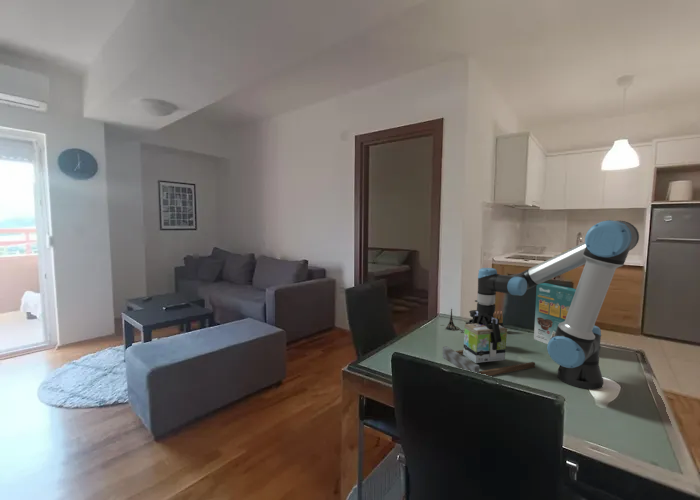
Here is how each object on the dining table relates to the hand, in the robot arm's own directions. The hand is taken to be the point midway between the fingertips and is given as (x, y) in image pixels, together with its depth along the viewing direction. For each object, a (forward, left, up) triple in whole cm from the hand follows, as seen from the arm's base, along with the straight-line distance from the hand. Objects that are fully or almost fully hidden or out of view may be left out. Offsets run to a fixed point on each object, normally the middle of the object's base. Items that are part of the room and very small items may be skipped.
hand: (484, 351), depth 152 cm
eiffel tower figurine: (+44, -14, -6) cm, 47 cm away
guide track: (0, -2, -5) cm, 5 cm away
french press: (+19, -11, -5) cm, 23 cm away
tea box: (0, 0, -3) cm, 3 cm away
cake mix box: (+5, -49, -5) cm, 50 cm away
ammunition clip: (+33, -34, -5) cm, 48 cm away
